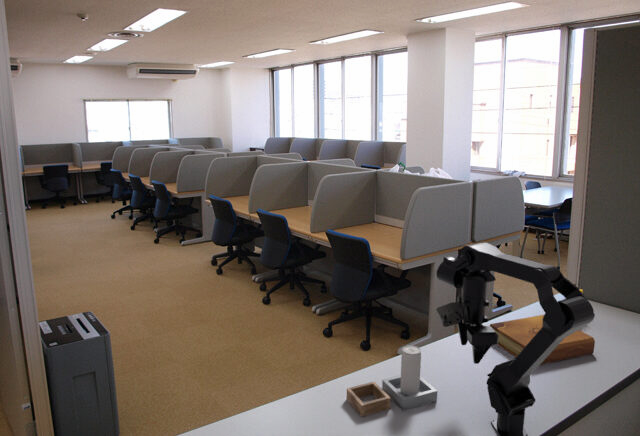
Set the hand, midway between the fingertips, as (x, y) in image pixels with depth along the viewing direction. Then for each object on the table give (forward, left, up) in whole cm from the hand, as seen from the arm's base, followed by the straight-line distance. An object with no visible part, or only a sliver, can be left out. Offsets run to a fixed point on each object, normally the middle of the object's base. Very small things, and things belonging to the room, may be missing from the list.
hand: (469, 353), depth 123 cm
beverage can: (+3, +14, -12) cm, 19 cm away
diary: (+27, -32, -14) cm, 44 cm away
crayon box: (+47, -53, -13) cm, 72 cm away
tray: (+3, +14, -13) cm, 19 cm away
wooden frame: (0, +25, -13) cm, 28 cm away
